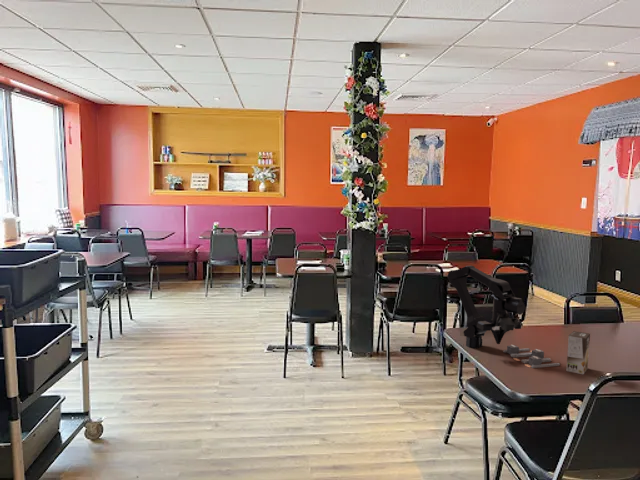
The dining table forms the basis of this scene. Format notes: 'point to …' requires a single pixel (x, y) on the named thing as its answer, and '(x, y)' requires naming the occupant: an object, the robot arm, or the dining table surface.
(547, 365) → the switch board
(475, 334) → the robot arm
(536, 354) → the tab
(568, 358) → the coffee box
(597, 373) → the dining table surface
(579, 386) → the dining table surface
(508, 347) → the tab
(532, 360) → the tab
